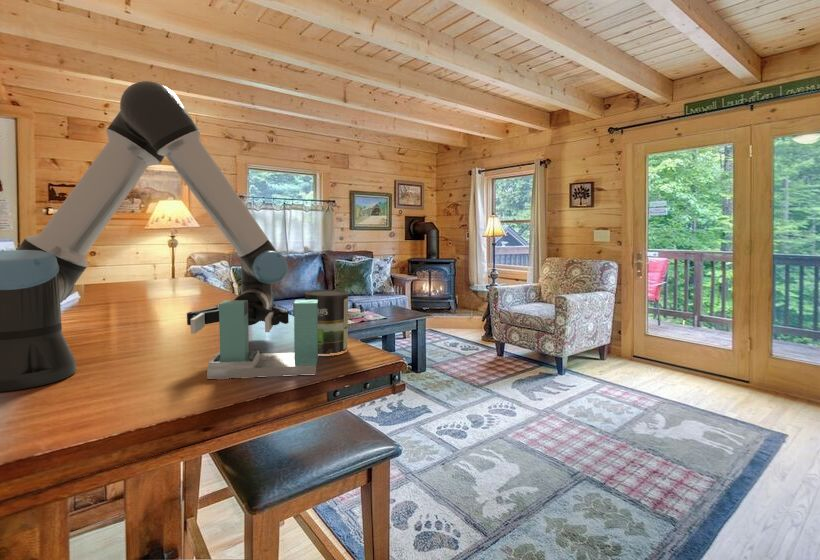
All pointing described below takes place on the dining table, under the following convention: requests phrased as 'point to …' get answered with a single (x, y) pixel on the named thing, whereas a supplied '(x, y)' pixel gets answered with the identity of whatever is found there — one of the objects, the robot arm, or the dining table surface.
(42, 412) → the dining table surface
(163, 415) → the dining table surface
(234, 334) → the mint green block
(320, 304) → the coffee can
